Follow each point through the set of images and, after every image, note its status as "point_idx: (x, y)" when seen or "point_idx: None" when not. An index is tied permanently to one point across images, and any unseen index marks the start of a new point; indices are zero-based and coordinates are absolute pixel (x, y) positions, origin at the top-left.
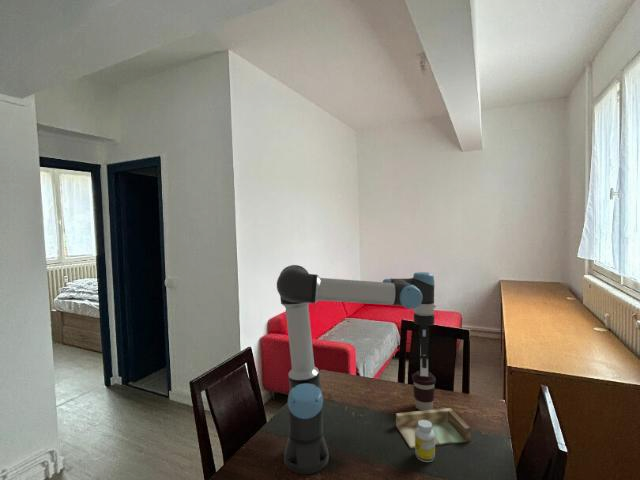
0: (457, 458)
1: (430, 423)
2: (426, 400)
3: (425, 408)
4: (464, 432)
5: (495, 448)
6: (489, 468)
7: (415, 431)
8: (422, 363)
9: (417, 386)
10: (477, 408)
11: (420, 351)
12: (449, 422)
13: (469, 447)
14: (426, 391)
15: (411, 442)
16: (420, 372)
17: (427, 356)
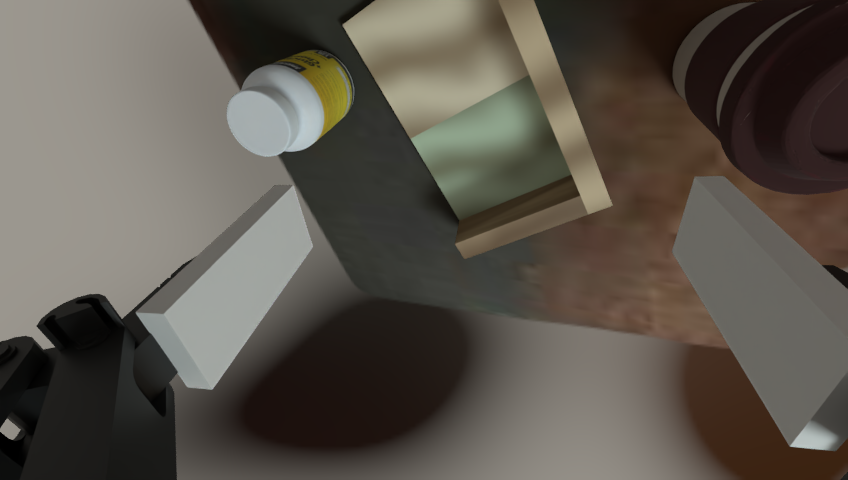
0: (363, 187)
1: (272, 150)
2: (687, 90)
3: (676, 72)
4: (462, 231)
5: (453, 286)
6: (358, 257)
7: (263, 68)
8: (155, 292)
9: (759, 41)
10: None
11: (775, 263)
12: (563, 179)
13: (433, 225)
14: (708, 106)
15: (371, 25)
16: (256, 202)
17: (30, 437)
